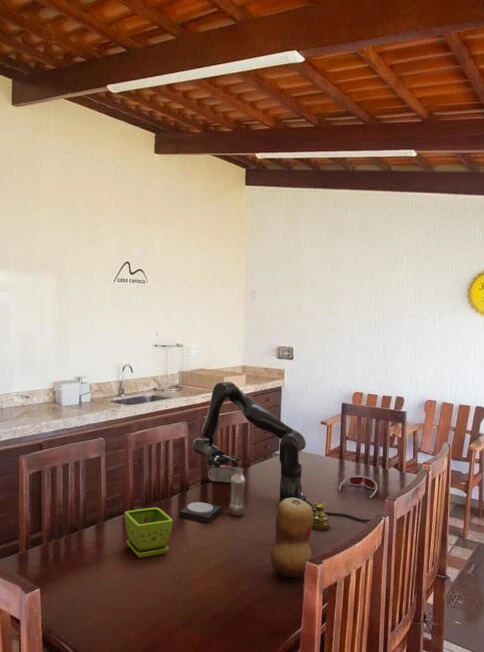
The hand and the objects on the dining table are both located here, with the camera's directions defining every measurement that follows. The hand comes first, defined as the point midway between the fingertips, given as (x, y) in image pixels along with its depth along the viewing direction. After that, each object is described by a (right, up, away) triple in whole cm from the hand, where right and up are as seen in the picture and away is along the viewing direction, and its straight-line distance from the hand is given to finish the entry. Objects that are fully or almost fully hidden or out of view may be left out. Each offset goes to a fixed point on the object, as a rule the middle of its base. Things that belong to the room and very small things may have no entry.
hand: (228, 465), depth 240 cm
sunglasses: (+67, -21, +28) cm, 76 cm away
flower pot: (-32, -18, -48) cm, 60 cm away
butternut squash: (+17, -20, -62) cm, 67 cm away
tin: (-2, -18, +33) cm, 38 cm away
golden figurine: (+36, -20, -20) cm, 46 cm away
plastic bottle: (+3, -19, -10) cm, 21 cm away
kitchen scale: (-12, -18, -12) cm, 25 cm away
